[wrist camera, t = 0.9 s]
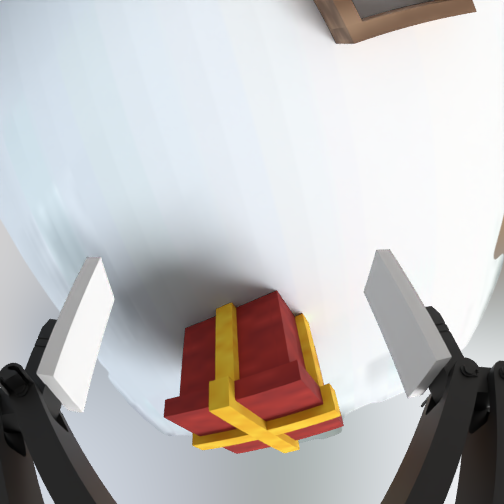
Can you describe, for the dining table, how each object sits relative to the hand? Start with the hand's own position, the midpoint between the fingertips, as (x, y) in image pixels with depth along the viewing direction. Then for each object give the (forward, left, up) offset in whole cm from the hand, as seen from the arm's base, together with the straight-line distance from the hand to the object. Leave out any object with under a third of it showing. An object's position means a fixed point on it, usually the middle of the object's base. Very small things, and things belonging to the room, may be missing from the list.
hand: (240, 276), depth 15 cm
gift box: (+36, -16, -28) cm, 48 cm away
